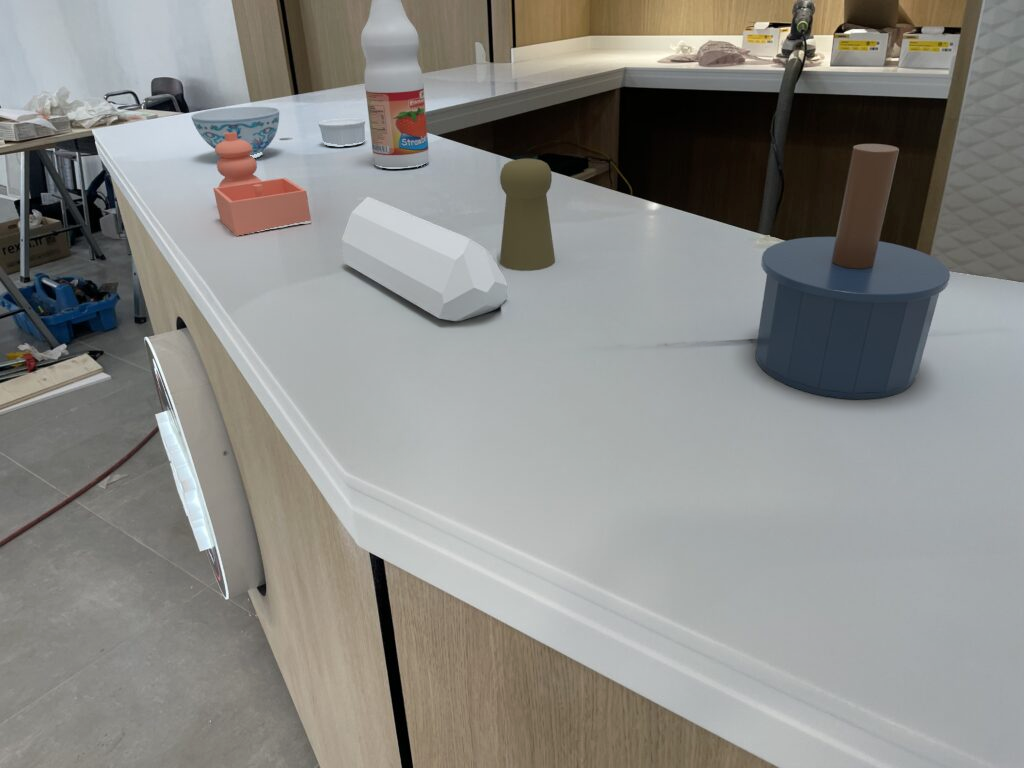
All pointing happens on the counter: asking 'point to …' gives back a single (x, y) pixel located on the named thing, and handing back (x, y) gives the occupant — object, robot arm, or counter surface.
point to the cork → (526, 216)
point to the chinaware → (239, 125)
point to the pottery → (254, 192)
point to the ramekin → (343, 130)
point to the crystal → (423, 262)
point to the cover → (859, 245)
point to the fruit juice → (394, 87)
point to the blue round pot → (841, 342)
